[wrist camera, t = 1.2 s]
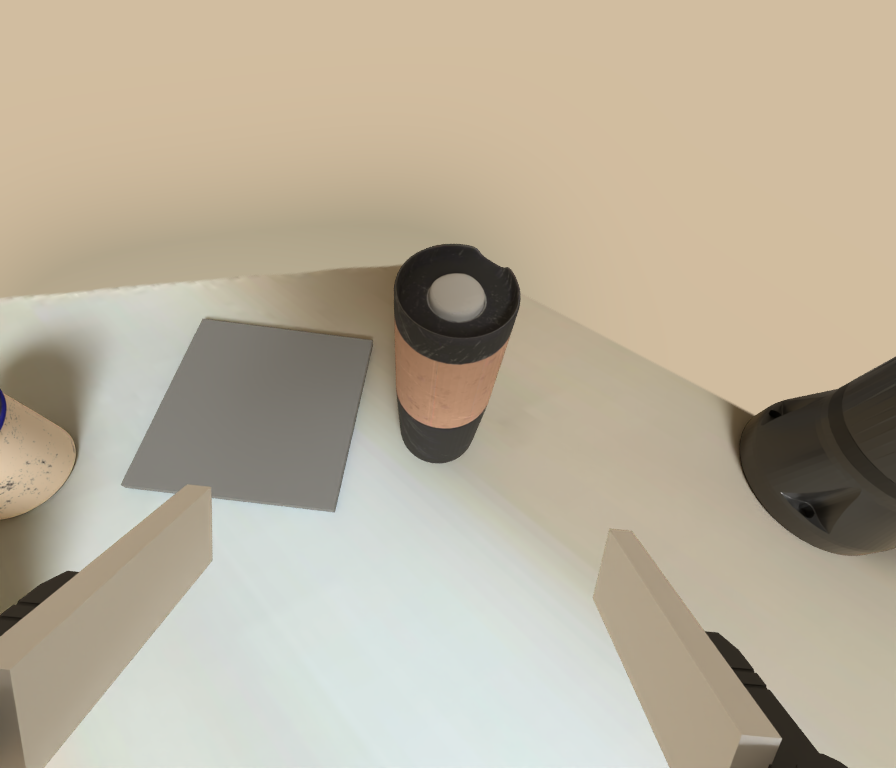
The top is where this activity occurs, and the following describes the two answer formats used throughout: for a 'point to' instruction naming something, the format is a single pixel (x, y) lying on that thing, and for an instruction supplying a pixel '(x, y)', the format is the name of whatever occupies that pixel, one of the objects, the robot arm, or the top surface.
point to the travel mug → (449, 345)
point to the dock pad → (257, 417)
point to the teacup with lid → (30, 458)
